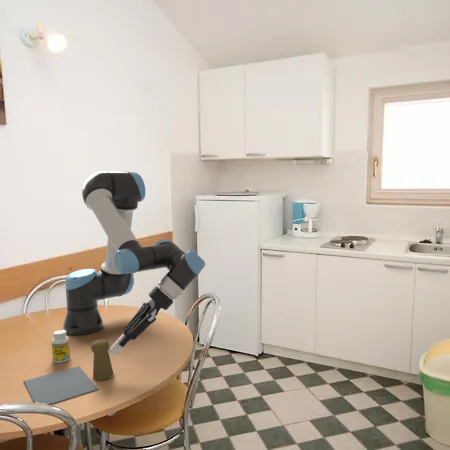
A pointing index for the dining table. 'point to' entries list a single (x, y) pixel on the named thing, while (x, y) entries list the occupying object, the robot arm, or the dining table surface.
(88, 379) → the mat
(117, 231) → the robot arm
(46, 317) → the dining table surface
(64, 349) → the supplement bottle
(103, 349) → the cork
